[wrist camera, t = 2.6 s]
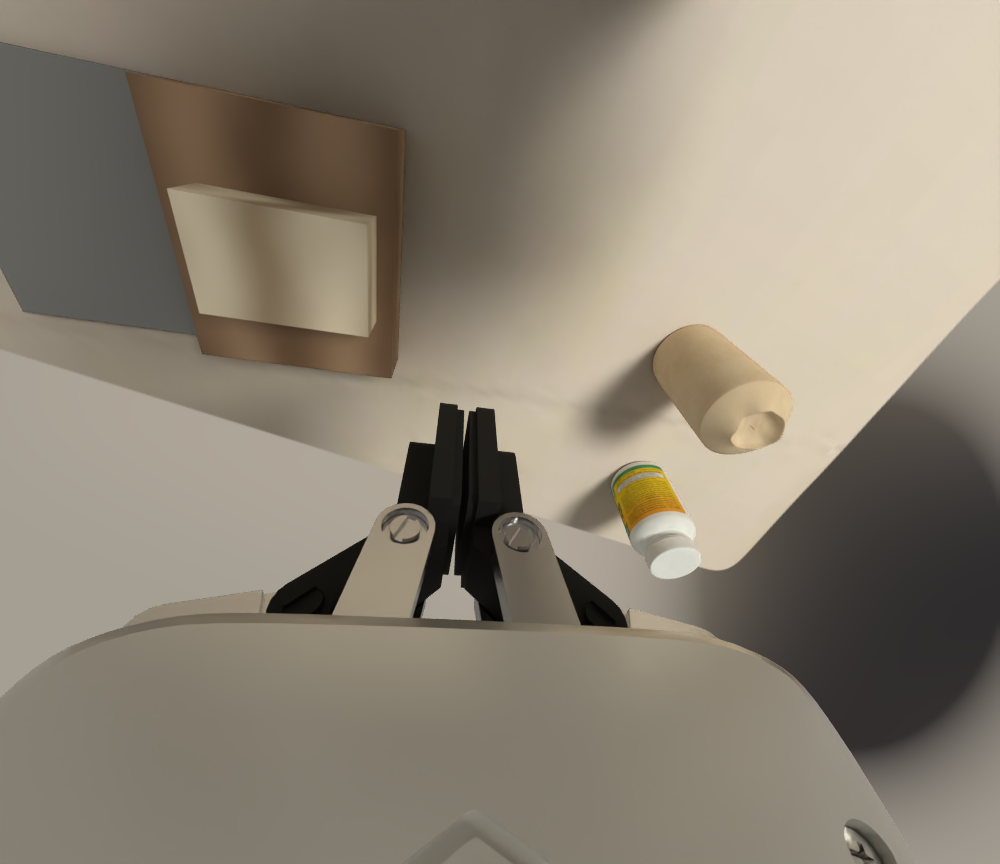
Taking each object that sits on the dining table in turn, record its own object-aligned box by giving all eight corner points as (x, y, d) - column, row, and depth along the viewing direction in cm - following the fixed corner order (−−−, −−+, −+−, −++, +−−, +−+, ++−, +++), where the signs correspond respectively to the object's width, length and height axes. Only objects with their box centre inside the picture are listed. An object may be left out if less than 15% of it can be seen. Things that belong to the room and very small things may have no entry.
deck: (405, 130, 22) (397, 130, 20) (397, 358, 31) (391, 378, 28) (165, 78, 21) (124, 71, 18) (224, 335, 29) (202, 354, 26)
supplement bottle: (675, 479, 40) (723, 563, 32) (628, 506, 42) (663, 592, 34) (646, 449, 37) (690, 533, 29) (598, 480, 39) (628, 566, 32)
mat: (165, 78, 21) (159, 76, 20) (224, 335, 29) (221, 338, 28) (-119, 16, 19) (-132, 13, 19) (29, 308, 27) (22, 311, 27)
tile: (376, 216, 22) (366, 224, 20) (376, 320, 26) (368, 337, 24) (196, 182, 21) (166, 188, 19) (222, 298, 24) (199, 313, 22)
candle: (646, 390, 33) (700, 472, 25) (658, 325, 30) (725, 397, 22) (712, 385, 33) (787, 466, 25) (732, 321, 30) (825, 390, 22)
